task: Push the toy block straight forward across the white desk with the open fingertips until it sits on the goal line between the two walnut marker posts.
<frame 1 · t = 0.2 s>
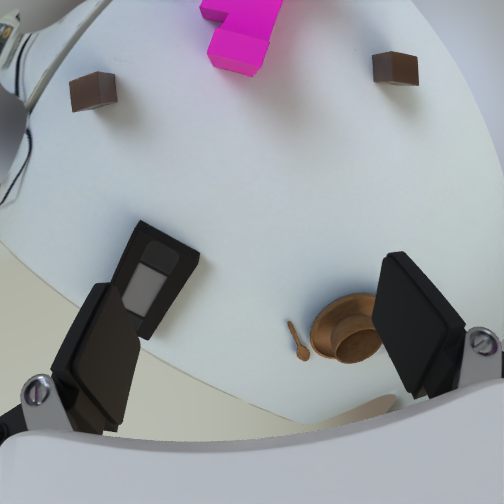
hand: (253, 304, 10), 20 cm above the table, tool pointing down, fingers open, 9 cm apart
toy block: (245, 2, 19), on the table
place setting: (353, 337, 41), on the table
vhs tape: (145, 281, 33), on the table
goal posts: (246, 65, 22), on the table
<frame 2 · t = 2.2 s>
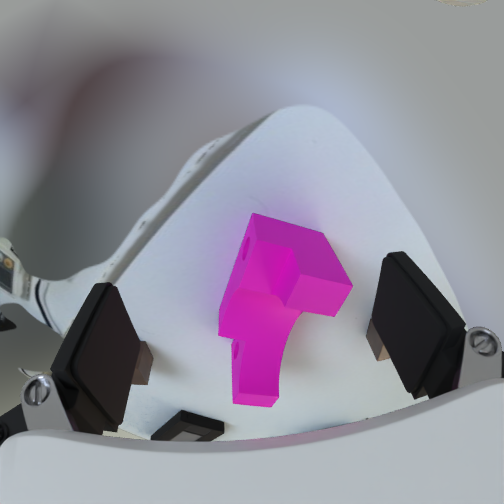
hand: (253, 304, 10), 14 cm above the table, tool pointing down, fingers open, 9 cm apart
toy block: (259, 292, 27), on the table
vhs tape: (184, 429, 42), on the table
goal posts: (259, 343, 30), on the table
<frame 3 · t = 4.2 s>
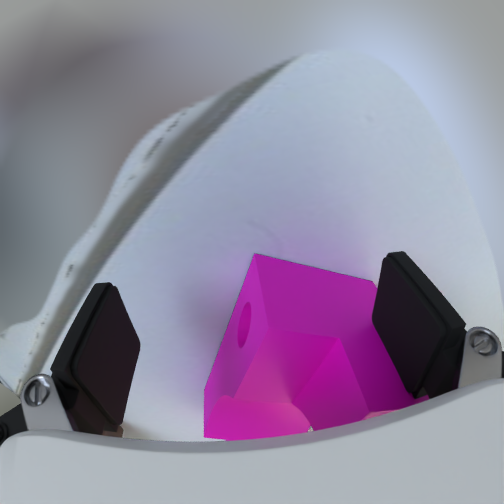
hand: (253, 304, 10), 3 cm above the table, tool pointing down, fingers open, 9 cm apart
toy block: (264, 368, 17), on the table, touching gripper
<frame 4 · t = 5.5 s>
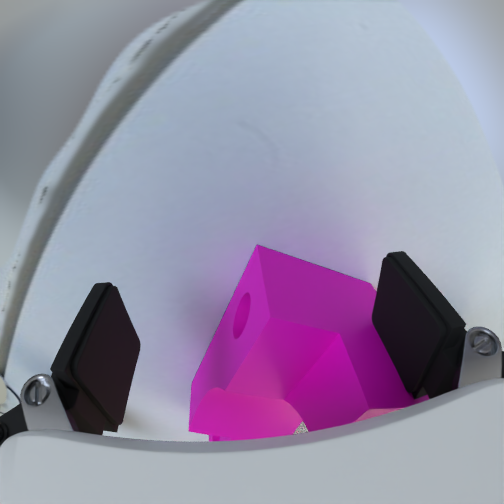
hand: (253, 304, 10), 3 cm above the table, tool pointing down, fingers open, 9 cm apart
toy block: (255, 365, 16), on the table, touching gripper
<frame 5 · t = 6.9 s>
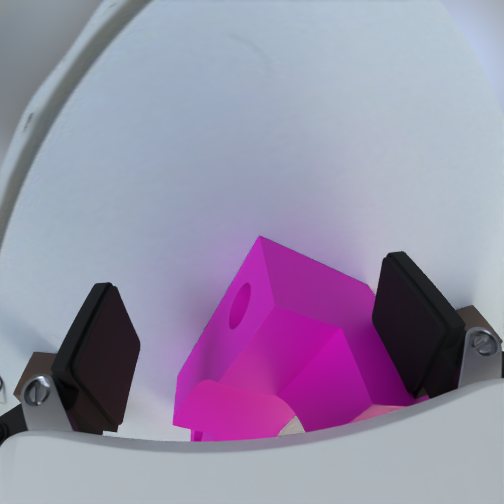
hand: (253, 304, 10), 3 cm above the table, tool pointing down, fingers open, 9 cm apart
toy block: (244, 361, 16), on the table, touching gripper
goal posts: (256, 366, 16), on the table
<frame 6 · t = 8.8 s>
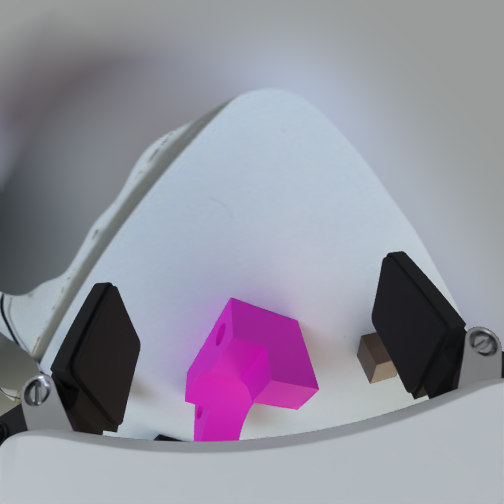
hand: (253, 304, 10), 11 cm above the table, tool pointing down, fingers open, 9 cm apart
toy block: (227, 363, 26), on the table
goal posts: (235, 366, 26), on the table
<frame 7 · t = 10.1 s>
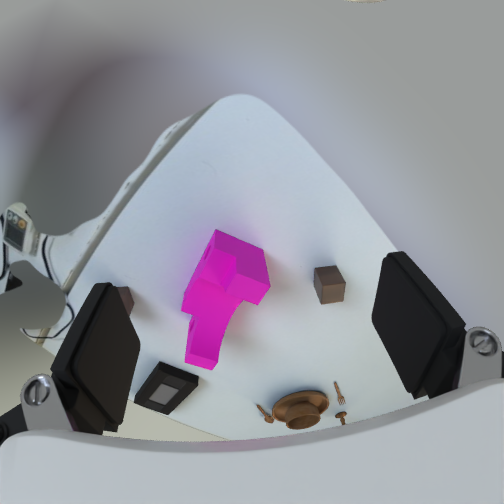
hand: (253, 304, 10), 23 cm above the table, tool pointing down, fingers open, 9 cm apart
toy block: (214, 285, 38), on the table
place setting: (305, 409, 56), on the table
vhs tape: (164, 386, 49), on the table
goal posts: (219, 287, 38), on the table
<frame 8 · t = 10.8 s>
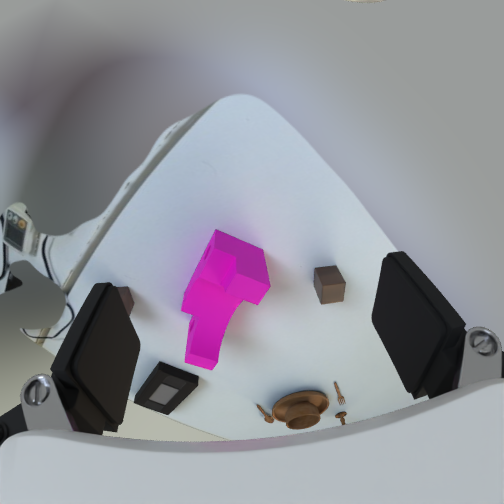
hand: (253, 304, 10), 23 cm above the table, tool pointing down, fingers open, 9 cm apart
toy block: (214, 285, 38), on the table
place setting: (305, 409, 56), on the table
vhs tape: (164, 386, 49), on the table
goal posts: (219, 287, 38), on the table
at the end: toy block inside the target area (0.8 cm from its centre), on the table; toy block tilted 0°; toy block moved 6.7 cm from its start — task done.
